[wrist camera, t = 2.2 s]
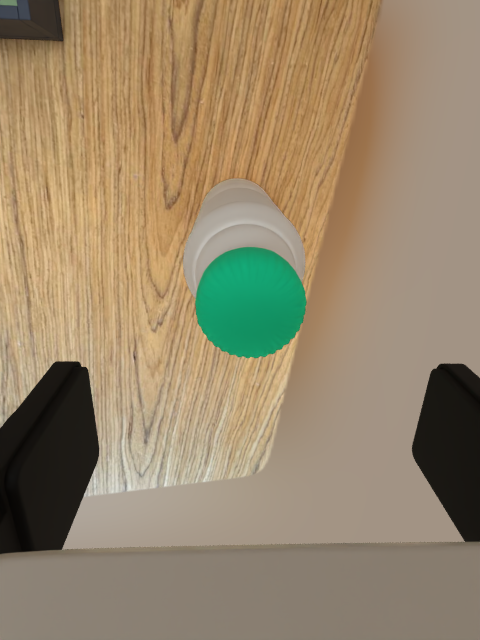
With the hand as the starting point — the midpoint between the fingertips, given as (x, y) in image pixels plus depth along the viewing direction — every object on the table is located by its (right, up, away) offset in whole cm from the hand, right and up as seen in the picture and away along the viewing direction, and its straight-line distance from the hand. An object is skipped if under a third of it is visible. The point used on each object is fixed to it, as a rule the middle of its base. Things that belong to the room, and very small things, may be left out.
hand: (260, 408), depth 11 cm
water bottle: (-1, +13, +28) cm, 31 cm away
